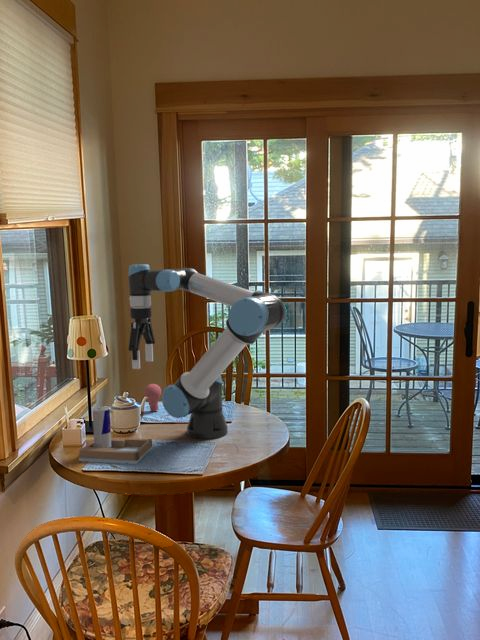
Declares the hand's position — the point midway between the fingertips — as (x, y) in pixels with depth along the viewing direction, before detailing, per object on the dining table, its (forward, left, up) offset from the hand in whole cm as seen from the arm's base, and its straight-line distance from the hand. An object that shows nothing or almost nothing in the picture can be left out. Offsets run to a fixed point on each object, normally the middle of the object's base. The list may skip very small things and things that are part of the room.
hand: (143, 364), depth 210 cm
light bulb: (+8, -31, -27) cm, 42 cm away
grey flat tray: (+3, +20, -27) cm, 33 cm away
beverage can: (+8, +20, -26) cm, 34 cm away
